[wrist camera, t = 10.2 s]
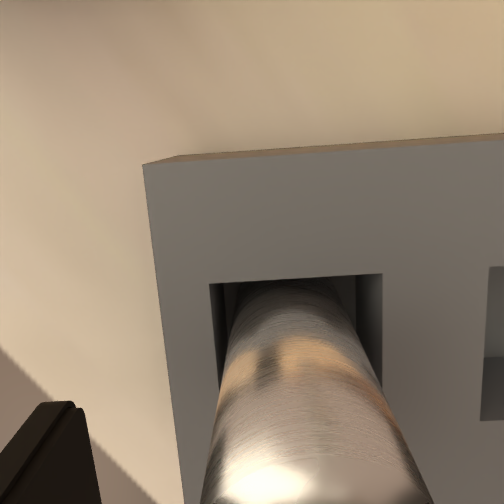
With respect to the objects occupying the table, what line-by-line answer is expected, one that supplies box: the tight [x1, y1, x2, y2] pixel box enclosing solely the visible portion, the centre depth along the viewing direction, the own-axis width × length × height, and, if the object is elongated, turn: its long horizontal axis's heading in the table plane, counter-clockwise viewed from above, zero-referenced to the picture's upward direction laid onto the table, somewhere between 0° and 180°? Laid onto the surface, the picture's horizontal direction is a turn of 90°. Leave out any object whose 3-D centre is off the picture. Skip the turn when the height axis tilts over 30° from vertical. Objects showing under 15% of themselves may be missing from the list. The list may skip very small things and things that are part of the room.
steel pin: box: [200, 277, 434, 504], centre depth 12 cm, size 4×4×11 cm
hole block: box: [142, 133, 504, 504], centre depth 16 cm, size 12×16×6 cm
